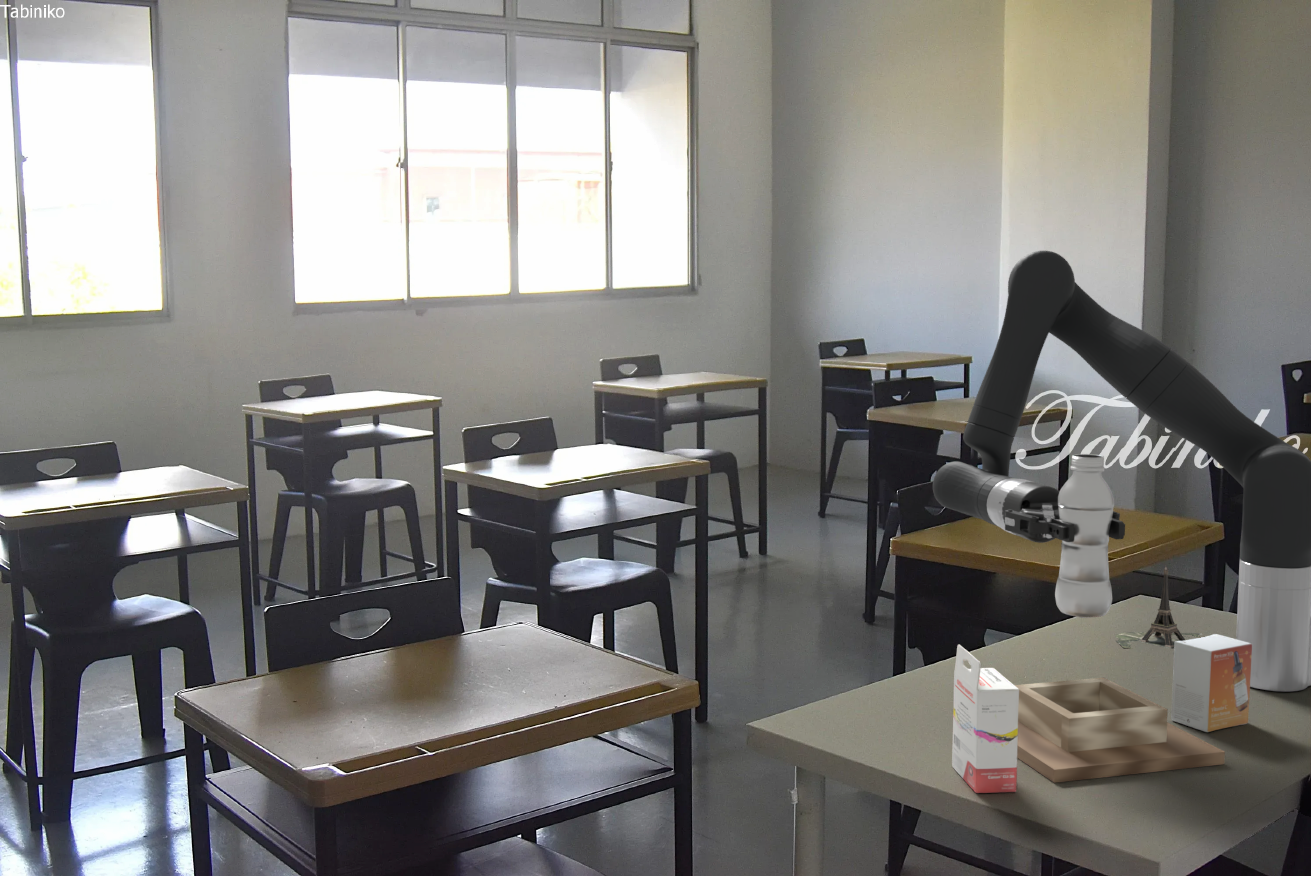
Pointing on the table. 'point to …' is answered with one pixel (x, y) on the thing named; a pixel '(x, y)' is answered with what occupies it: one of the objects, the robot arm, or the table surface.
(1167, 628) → the eiffel tower figurine
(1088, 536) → the silver metal bottle
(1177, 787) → the table surface
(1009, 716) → the ink cartridge box
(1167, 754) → the socket board
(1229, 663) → the small box
